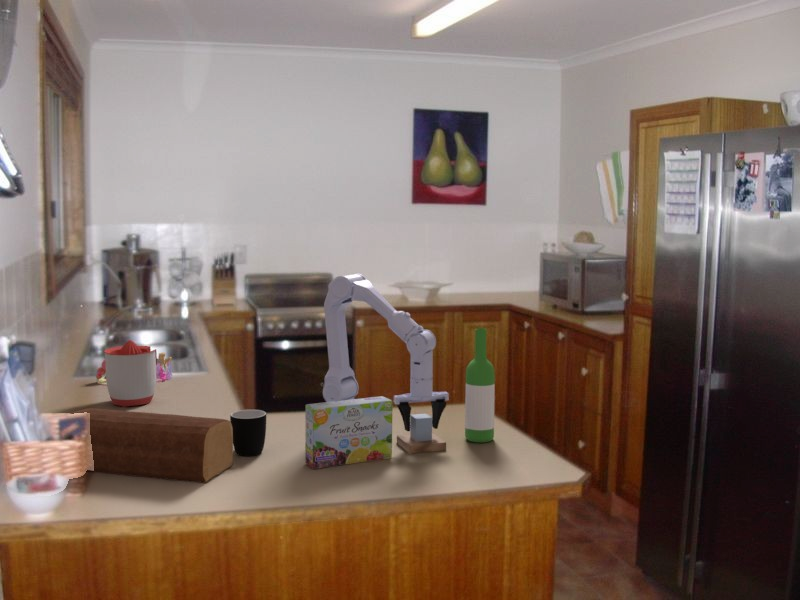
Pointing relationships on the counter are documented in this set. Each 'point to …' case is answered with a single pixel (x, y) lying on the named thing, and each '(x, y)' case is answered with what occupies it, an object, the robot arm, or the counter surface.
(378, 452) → the snack box
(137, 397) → the citrus juicer
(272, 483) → the counter surface
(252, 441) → the mug
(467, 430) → the wine bottle
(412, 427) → the block
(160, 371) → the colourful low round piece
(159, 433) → the bread
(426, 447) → the base board
